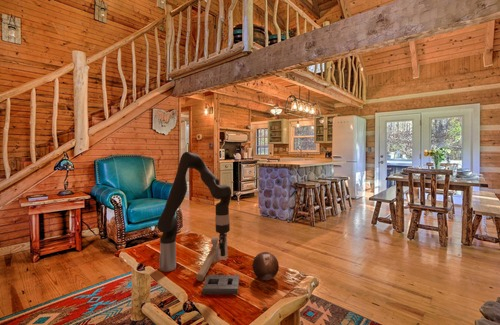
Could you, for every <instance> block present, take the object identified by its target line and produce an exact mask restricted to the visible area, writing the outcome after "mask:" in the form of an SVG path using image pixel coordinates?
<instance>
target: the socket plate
mask: <svg viewBox="0 0 500 325" xmlns="http://www.w3.org/2000/svg"><path fill="white" fill-rule="evenodd" d="M205 278H206V279H204V280H205V281H204V284H203V286H202V295H238V294H239V286H240V274H239V275H238V274H206V277H205Z"/></svg>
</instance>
